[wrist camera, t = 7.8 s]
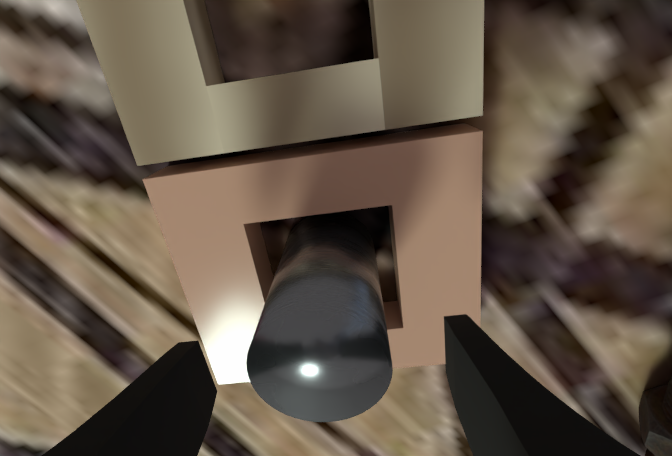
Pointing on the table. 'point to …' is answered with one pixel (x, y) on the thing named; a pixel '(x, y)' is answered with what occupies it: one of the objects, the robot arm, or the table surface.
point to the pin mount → (281, 78)
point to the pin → (323, 325)
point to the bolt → (657, 420)
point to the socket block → (320, 198)
